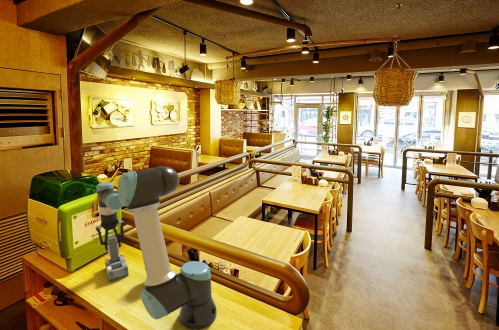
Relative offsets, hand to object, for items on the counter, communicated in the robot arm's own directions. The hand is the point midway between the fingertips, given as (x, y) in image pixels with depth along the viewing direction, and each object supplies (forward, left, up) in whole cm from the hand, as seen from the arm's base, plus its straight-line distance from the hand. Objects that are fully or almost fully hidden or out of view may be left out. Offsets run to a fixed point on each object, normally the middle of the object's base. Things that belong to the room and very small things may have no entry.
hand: (114, 253), depth 150 cm
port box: (-3, 0, -9) cm, 9 cm away
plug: (0, 0, -3) cm, 3 cm away
